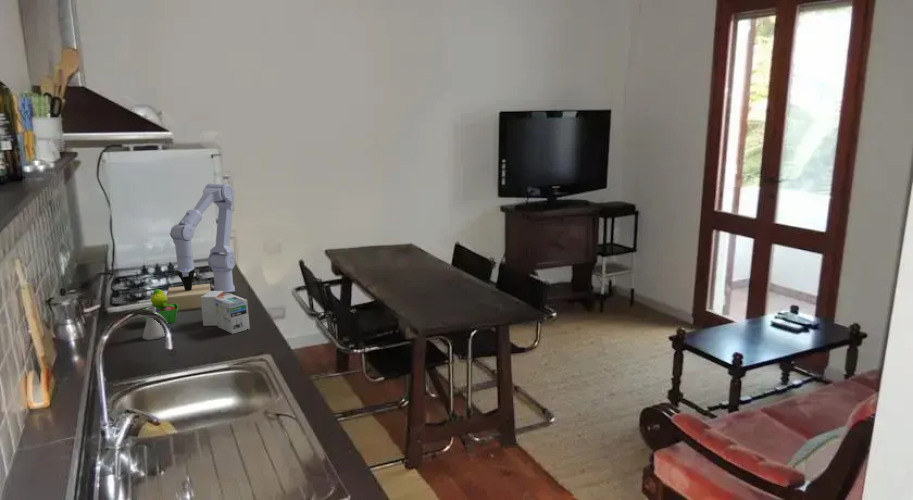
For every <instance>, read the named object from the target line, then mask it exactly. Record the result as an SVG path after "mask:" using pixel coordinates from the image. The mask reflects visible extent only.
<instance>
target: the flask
mask: <svg viewBox="0 0 913 500" xmlns="http://www.w3.org/2000/svg"><path fill="white" fill-rule="evenodd" d="M147 307H148V308H146V307H145V308H146V310H151V311H153V312H155V310H156V307H151V306H147ZM164 331H165V330H164V328H163V326H162V324H161V325H160V323H158V322H157V321H156V320H154V319H153V318H149V317H147V321H146V320H145V327H144V331H143V333H142V339H143V340H147V341H150V340H156V339H157V340H158V339H161V338H164V337H166V336H165V334H166V332H165V333H164Z"/></svg>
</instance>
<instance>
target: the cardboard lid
mask: <svg viewBox="0 0 913 500" xmlns="http://www.w3.org/2000/svg"><path fill="white" fill-rule="evenodd" d="M210 290H211V283H203V284H202V283H201V284H195V285H193V284H192V290H190V291H185V288H184V285H183V286H172V287H168V290H167V293H166V294H165V295H166V297H167V299H171V298H181V297H191V296H200V295H205V294H206V293H208V292H209V291H210Z"/></svg>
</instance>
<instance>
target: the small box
mask: <svg viewBox="0 0 913 500" xmlns="http://www.w3.org/2000/svg"><path fill="white" fill-rule="evenodd" d="M225 294H226V293H224V291H214V290H211V291H209V292H208V293H206V294H205V295H203V296H202V297H200V298H201V307H202V308H201V315H202V324H203V326H204V327H205V326H206V327H209V326H210V327H211V326H212V327H214V326H217V327H218V323H217V313H216V303H215V298H216V297H221V296H225Z"/></svg>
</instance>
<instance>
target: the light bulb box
mask: <svg viewBox="0 0 913 500" xmlns="http://www.w3.org/2000/svg"><path fill="white" fill-rule="evenodd" d="M215 303H216V313H217V323H218V325H217V328H219V329H221V330H224V331H226V332H227V333H230V334H237V333H240V332H243V331H247V329H248V330H250V329H251V327H250V318H249V307H248V299H246V298H245V297H244V298H243V297H240V296H238V295H235V294H232V293H231V294H226V295H225V296H221V297H216V298H215Z"/></svg>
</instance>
